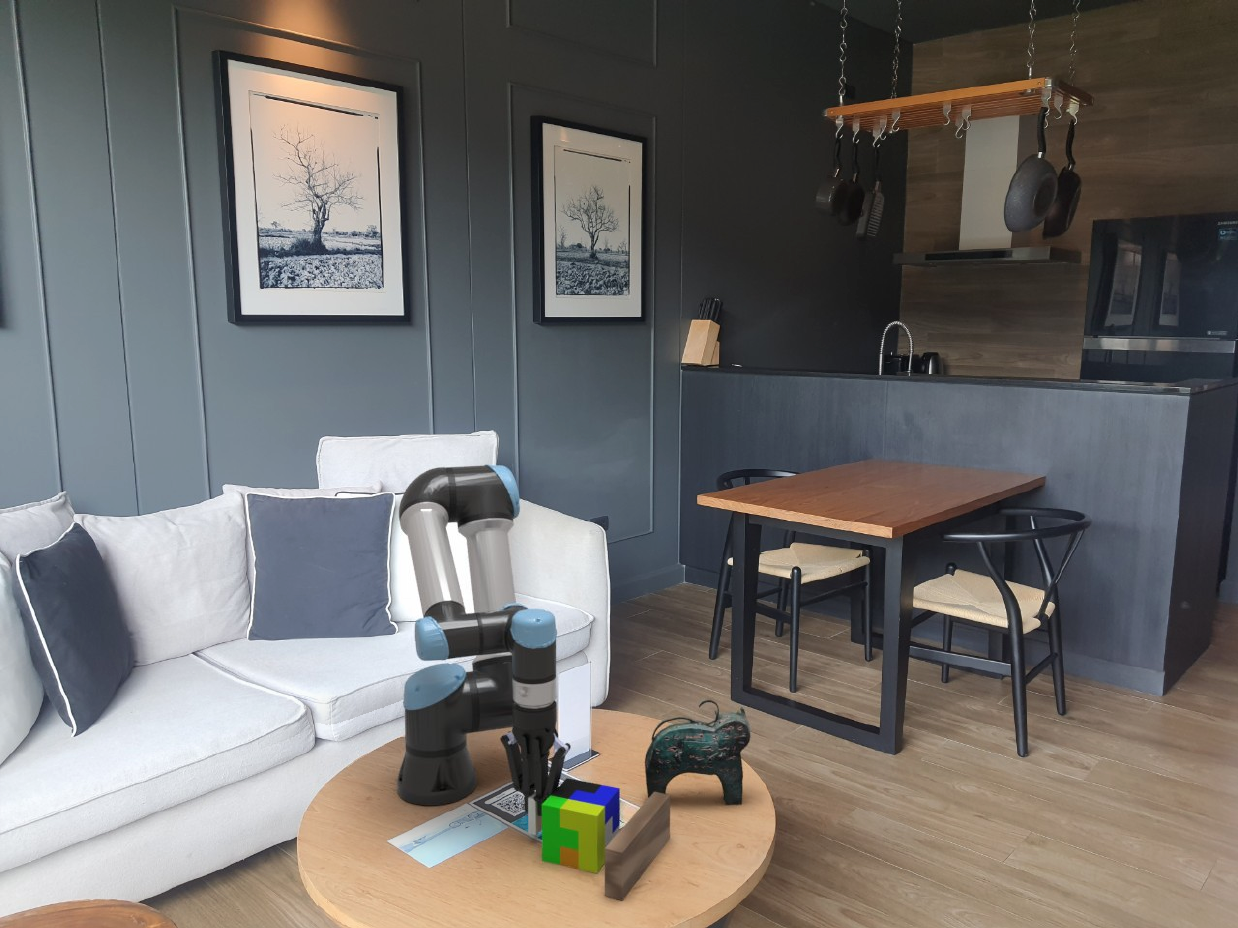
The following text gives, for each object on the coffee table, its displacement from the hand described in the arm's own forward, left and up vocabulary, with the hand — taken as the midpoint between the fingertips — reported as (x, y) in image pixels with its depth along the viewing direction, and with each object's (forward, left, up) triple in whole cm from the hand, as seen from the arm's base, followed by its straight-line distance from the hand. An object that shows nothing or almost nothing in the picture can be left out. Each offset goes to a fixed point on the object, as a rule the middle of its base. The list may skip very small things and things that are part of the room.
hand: (536, 830), depth 160 cm
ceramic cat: (+21, +24, -2) cm, 32 cm away
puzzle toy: (+9, 0, -2) cm, 9 cm away
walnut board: (+19, 0, -2) cm, 19 cm away
